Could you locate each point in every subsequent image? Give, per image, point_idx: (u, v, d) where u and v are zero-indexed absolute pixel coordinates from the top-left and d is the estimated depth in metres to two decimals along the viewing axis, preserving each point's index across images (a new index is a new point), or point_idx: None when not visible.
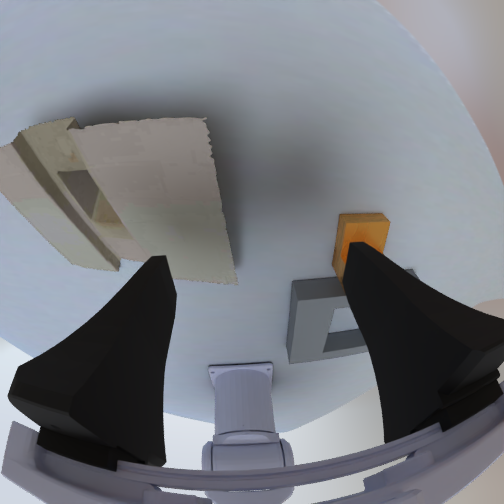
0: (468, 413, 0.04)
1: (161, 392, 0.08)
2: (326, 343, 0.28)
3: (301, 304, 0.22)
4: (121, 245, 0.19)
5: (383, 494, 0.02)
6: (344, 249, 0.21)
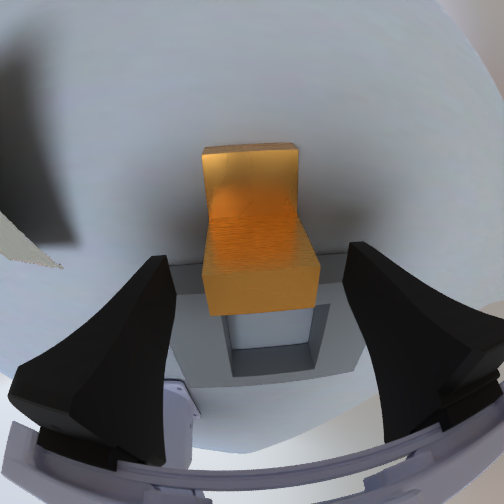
0: (468, 413, 0.04)
1: (161, 392, 0.08)
2: (242, 363, 0.19)
3: None
4: None
5: (383, 494, 0.02)
6: (212, 206, 0.12)
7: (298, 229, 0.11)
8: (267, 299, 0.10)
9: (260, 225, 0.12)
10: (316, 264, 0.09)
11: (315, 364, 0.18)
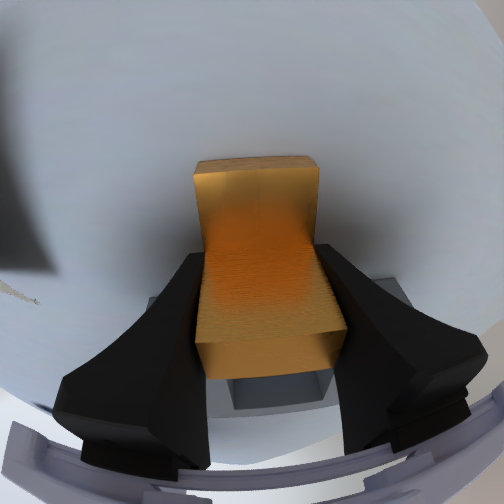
0: (423, 436, 0.04)
1: (205, 393, 0.08)
2: (244, 394, 0.17)
3: None
4: None
5: (383, 494, 0.02)
6: (209, 238, 0.10)
7: (317, 270, 0.09)
8: (278, 364, 0.07)
9: (269, 264, 0.09)
10: (342, 326, 0.07)
11: (324, 396, 0.16)
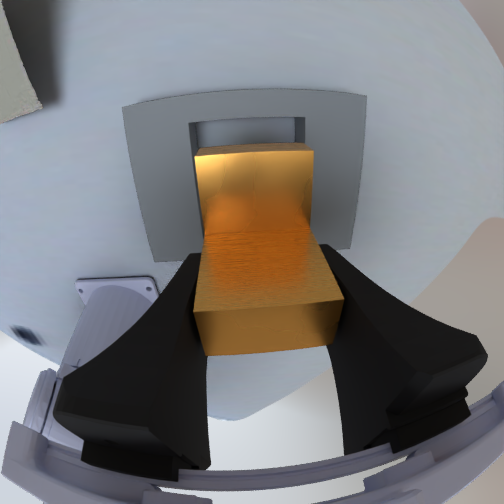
0: (423, 436, 0.04)
1: (205, 393, 0.08)
2: None
3: (128, 114, 0.12)
4: None
5: (383, 494, 0.02)
6: (208, 219, 0.10)
7: (313, 248, 0.09)
8: (276, 338, 0.08)
9: (267, 243, 0.09)
10: (339, 296, 0.07)
11: None
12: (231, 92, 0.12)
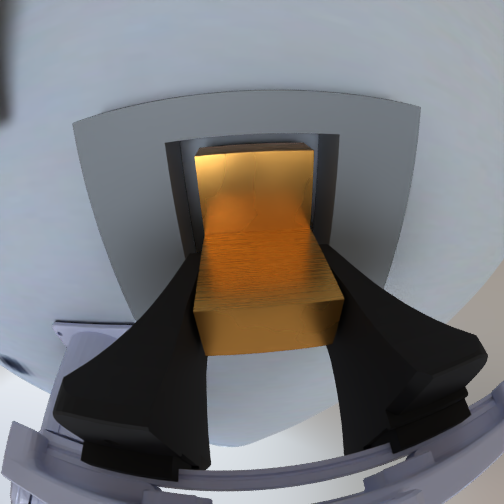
0: (423, 436, 0.04)
1: (205, 393, 0.08)
2: None
3: (81, 132, 0.08)
4: None
5: (383, 494, 0.02)
6: (208, 219, 0.10)
7: (313, 248, 0.09)
8: (276, 338, 0.08)
9: (267, 243, 0.09)
10: (339, 296, 0.07)
11: None
12: (229, 94, 0.08)
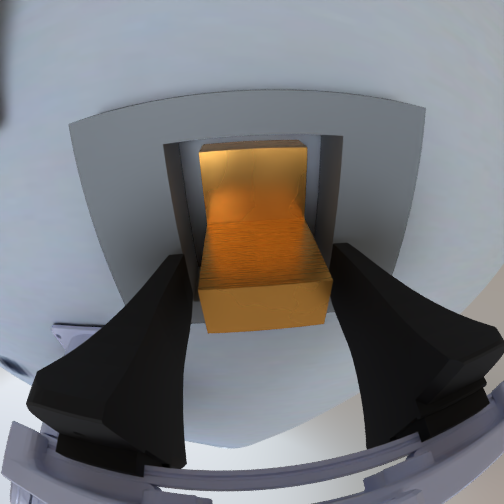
0: (449, 423, 0.04)
1: (181, 393, 0.08)
2: None
3: (78, 134, 0.07)
4: None
5: (383, 494, 0.02)
6: (211, 209, 0.11)
7: (306, 236, 0.10)
8: (272, 316, 0.09)
9: (264, 231, 0.10)
10: (328, 278, 0.08)
11: None
12: (229, 94, 0.07)
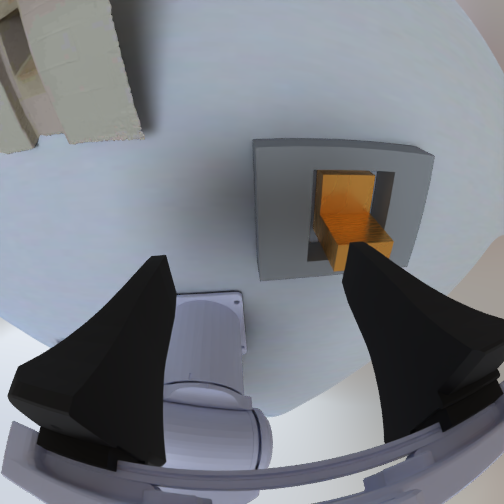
0: (468, 413, 0.04)
1: (161, 392, 0.08)
2: (312, 252, 0.21)
3: (261, 155, 0.15)
4: (37, 108, 0.12)
5: (383, 494, 0.02)
6: (323, 206, 0.19)
7: (374, 222, 0.18)
8: None
9: (353, 219, 0.18)
10: (391, 240, 0.16)
11: None
12: (349, 149, 0.15)
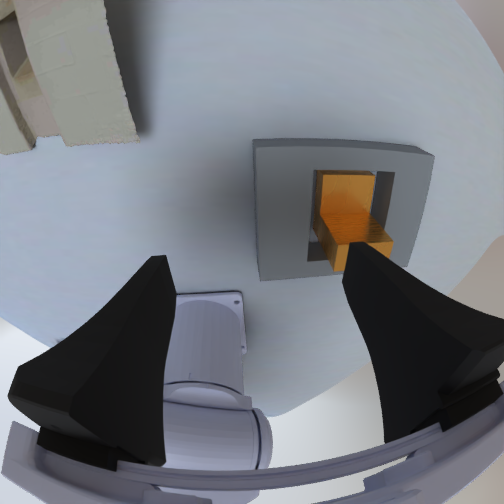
0: (468, 413, 0.04)
1: (161, 392, 0.08)
2: (312, 252, 0.21)
3: (261, 155, 0.15)
4: (34, 110, 0.12)
5: (383, 494, 0.02)
6: (324, 206, 0.19)
7: (374, 222, 0.18)
8: None
9: (353, 219, 0.18)
10: (391, 240, 0.16)
11: None
12: (349, 149, 0.15)
